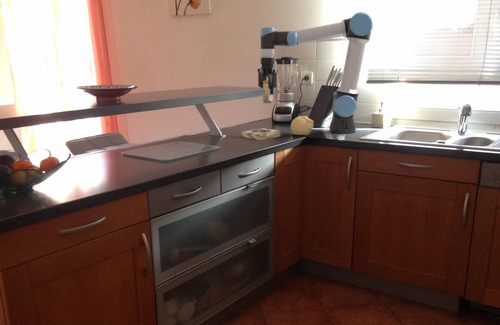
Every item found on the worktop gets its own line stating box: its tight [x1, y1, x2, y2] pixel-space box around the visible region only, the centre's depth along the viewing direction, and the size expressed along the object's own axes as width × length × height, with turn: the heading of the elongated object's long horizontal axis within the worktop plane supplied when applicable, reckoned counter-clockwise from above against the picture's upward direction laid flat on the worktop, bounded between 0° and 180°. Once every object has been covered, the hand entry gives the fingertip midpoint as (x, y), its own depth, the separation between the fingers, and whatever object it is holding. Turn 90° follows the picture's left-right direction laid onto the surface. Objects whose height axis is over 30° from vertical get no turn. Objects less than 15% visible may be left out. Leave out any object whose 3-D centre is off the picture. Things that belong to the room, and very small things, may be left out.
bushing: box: [262, 80, 272, 104], centre depth 245 cm, size 5×5×12 cm
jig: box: [241, 128, 281, 141], centre depth 243 cm, size 14×16×3 cm
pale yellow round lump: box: [290, 115, 315, 136], centre depth 246 cm, size 11×12×11 cm
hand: (267, 100), depth 246 cm, fingers closed on bushing, 5 cm apart
